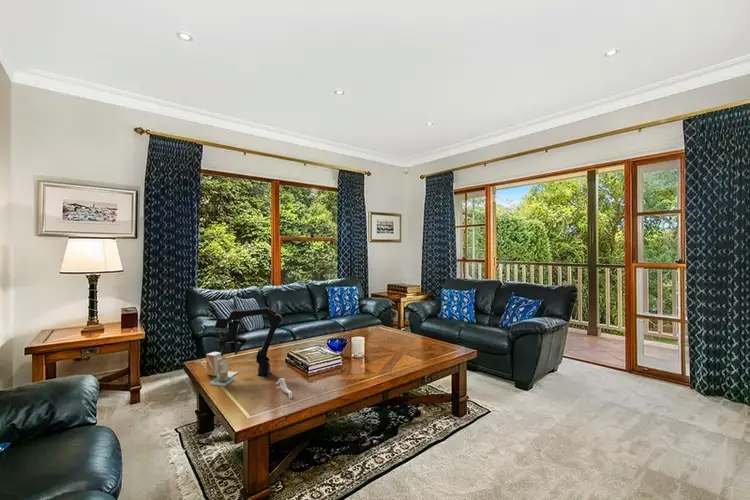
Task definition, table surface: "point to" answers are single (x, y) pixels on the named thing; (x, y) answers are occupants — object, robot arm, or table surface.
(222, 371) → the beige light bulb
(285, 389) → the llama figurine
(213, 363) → the small box
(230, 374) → the mat
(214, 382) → the light blue square frame
